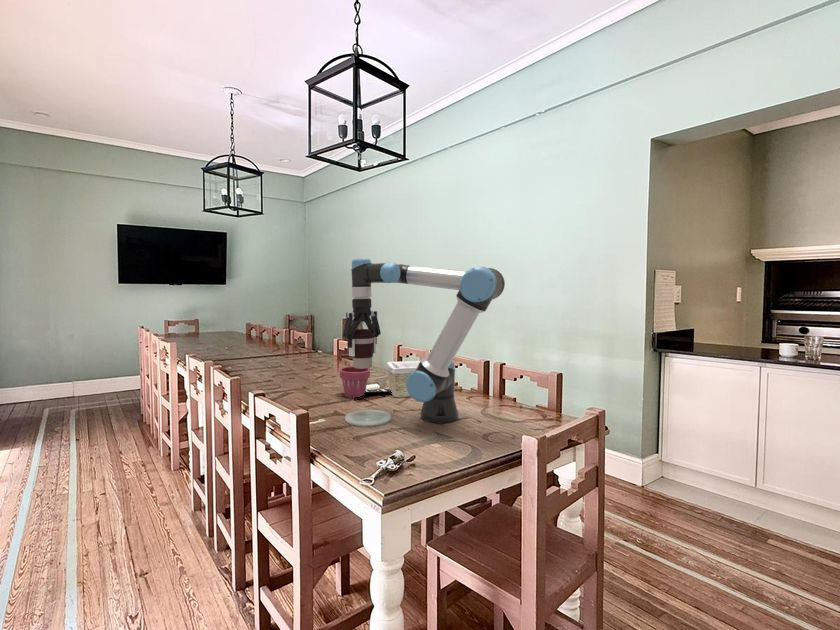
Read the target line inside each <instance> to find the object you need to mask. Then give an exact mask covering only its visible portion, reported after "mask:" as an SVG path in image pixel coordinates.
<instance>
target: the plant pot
mask: <svg viewBox="0 0 840 630" xmlns="http://www.w3.org/2000/svg"><path fill="white" fill-rule="evenodd" d="M370 376H371V370H370V368H365V369H358V368H354V366H353V365H351V366H344V367H342V368H339V378H340V379H341V382H342V387H343V391H344V392H343V393H344V396H345V397H346V398H349V399H356V398H355V397H360V396H363V395H364V396H365V394H366V389H367V386H368V382H369V380H368V379H370ZM364 393H365V394H364ZM364 396H363V397H364ZM360 398H361V397H360Z"/></svg>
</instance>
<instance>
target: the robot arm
mask: <svg viewBox="0 0 840 630" xmlns="http://www.w3.org/2000/svg"><path fill="white" fill-rule="evenodd" d="M350 270H351V271H350V272H351V283H352V284H351V297H352V298H353V299H352V300H351V304H352V305H351V306H352V307H351V308H352V309H353V310H352V312H346V313H345V318H346V319H345V323H344V329H343V332H342V338H344V339H346V341H347V344H346V345H347V348H348V356H349V357H352V356H355V339H353V337H354V334H355V332H356V330H357V329H358V327H359V325H360V324H361V323H365V325H366V327H367V329H370V330H371V332H372V333H374V334H375V337H374V338H373V342H374V346H373V354H376V353H377V348H376V347H377V343H378V342H377V341H378V339H377V338H378V337H380V336H381V328H380V324H379V319H378V311H376V310H371V309H372V299H371V298H372V284H374V283H375V284H376V283H377V284H404V285H413V286H414V285H415V286H420V287H421V286H423V287H430V288H437V289H439V288H440V289H447V290H453V291H454V290H455V291H457V293H456V295H455V296H456V301H457V302H456V304H455V306H454V308H453V310H452V312H451V313H450V315H449V317H448V319H447V320H446V322H445V324H444V326H443V328H442V330H441V331H440V333H439V335H438V337H437V338H436V341H434V344H433V346H432V348H431V350H430V351H429V354H428V355H427V356H426V357H423V358H421V360H419V361H420V363H419V365H418V367H417V368H416V370H415V371H414V372H412V373H411V374H410V375H409V376H408V378H407V380H406V388H407V390H408V393H409V395H410V396H411V397H410V398H412V399H413V400H414V401H417V402H420V403H423V404H422V407H421V409H420V418H421V419H422V420H424V421H426V422H431V423H436V424H437V423H439V424H441V423H442V424H443V423H451V422H455V421H457V420H458V419H459V410H458V409H457V404H456V400H455V382H456V381H455V378H456V375H455V374H456V367H455V366H456V365H455V363H454V362H453V361H454V358H455V357H456V355H457V353H458V351H459V350H460V348H461V346H462V344H463V342H464V341H465V339H466V337H467V336H468V334H469V332H470V330H471V329H472V327H473V325H474V324H475V322H476V320H477V318H478V316H479V315H480V314H482V313H485V312H487V309H488V308H489V306H490V304H491V302H492V301H493V300H495V299H497V298H498V297H500V296H501V295H502V294H503V292H504V289H505V286H506V285H505V283H506V282H505V278H504V276H503V274H502V273H501V272H500V271H498V270H497V269H495V268H493V267H492V268H491V267H486V266H475V267H472V268H470V269H468V270H457V269H450V268H449V269H448V268H447V269H446V268H439V267H430V266H429V267H426V266H417V265H409V264H408V265H407V264H403V263H402V264H398V263H395V262H384V263H383V262H380V263H372V260H371V259H370V258H353V259H352V261H351V269H350Z"/></svg>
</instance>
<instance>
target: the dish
mask: <svg viewBox="0 0 840 630" xmlns="http://www.w3.org/2000/svg"><path fill="white" fill-rule="evenodd" d="M344 421H346V422H347V424H348V425H350V424H351V425H350V426H354V425H355V427H360V426H364V427H363V428H366V427H367V428H369V427H371V428H372V427H380V426H383V425H386V424H388V423H390V422H391V421H392V415H391V414H390V413H389V412H387V411H385V410H379V409H359V410H354V411H351V412H348V413H347V414H345V416H344ZM346 422H345V423H346Z"/></svg>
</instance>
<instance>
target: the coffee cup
mask: <svg viewBox="0 0 840 630" xmlns="http://www.w3.org/2000/svg"><path fill="white" fill-rule="evenodd" d="M374 337H375V334H374V333H372V332H371V330H370V329H368V328H357V330H356V332H355V334H354V337H353V339H355V356H351V358H352V366H354V368H358V369H365V368H369V369H370V368H372V365H373V357H374V353H373V346H374V342H373V338H374Z"/></svg>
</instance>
